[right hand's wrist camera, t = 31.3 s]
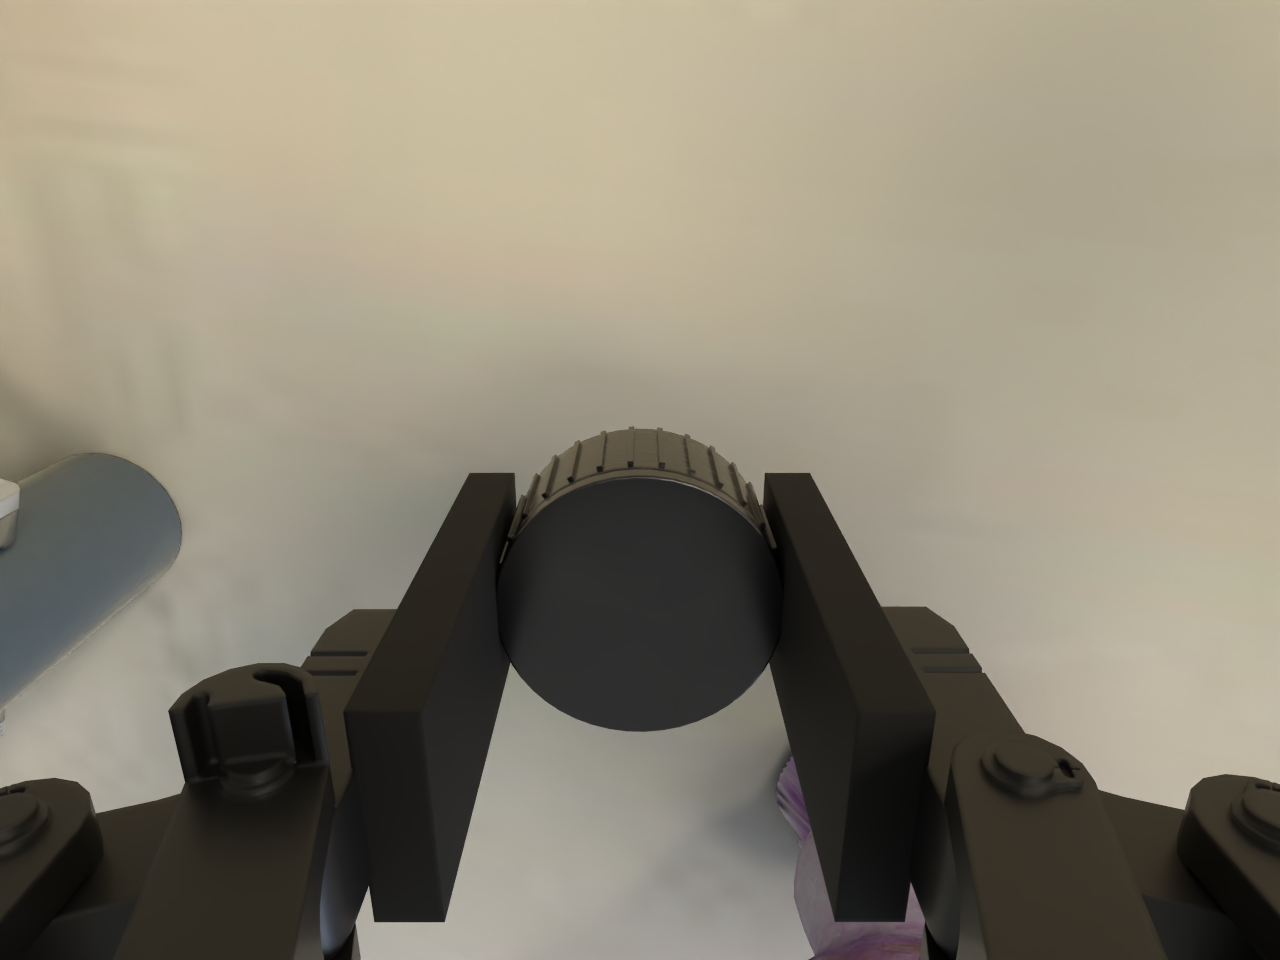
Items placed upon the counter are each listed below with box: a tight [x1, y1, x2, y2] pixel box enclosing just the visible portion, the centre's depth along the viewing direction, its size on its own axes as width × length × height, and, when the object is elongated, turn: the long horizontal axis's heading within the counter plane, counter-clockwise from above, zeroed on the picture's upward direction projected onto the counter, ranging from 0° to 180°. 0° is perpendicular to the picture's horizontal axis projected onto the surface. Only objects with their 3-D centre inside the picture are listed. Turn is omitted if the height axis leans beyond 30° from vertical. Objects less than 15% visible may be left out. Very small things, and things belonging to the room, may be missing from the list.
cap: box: [496, 427, 784, 732], centre depth 13 cm, size 4×4×2 cm
